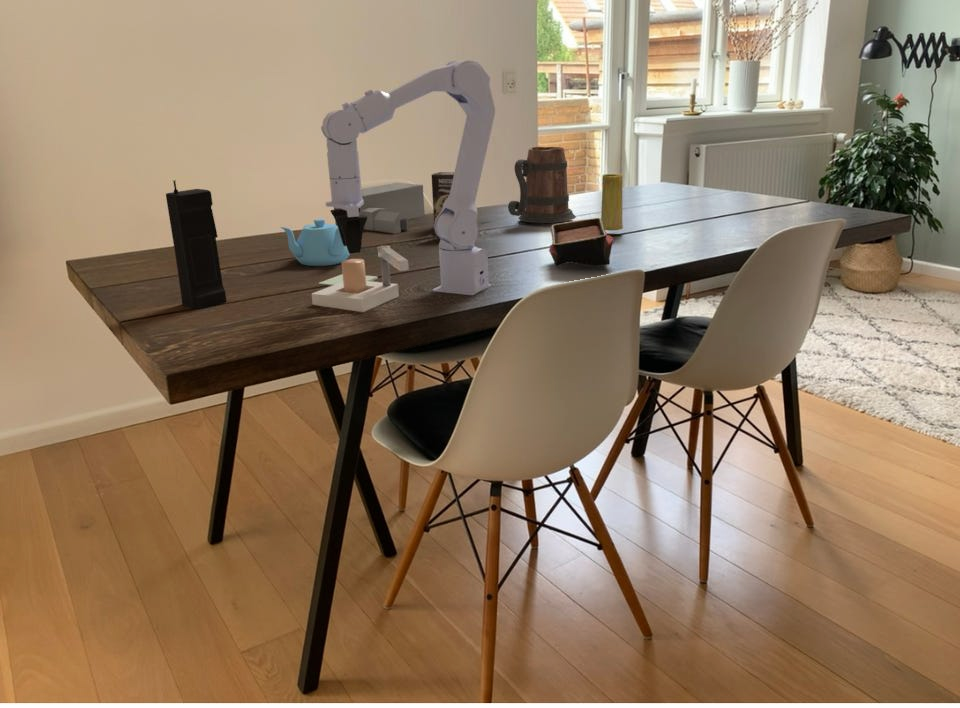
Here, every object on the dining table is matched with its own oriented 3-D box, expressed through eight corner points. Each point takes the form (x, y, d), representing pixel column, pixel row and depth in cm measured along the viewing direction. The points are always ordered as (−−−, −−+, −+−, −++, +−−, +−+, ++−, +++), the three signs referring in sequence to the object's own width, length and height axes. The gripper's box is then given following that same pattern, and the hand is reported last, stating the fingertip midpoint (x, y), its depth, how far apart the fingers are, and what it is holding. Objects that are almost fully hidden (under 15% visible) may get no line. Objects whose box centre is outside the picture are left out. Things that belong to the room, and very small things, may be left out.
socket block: (398, 296, 162) (396, 256, 160) (363, 312, 152) (359, 270, 150) (350, 290, 168) (346, 252, 165) (312, 306, 158) (308, 265, 155)
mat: (377, 278, 177) (377, 276, 176) (352, 289, 169) (352, 286, 169) (344, 275, 181) (344, 273, 181) (318, 285, 173) (318, 282, 173)
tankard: (545, 210, 251) (544, 144, 245) (587, 216, 240) (588, 146, 233) (490, 222, 236) (487, 151, 230) (532, 228, 225) (531, 154, 218)
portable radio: (215, 300, 165) (196, 174, 157) (233, 304, 162) (214, 176, 153) (180, 309, 160) (159, 180, 151) (198, 314, 156) (176, 181, 148)
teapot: (304, 256, 203) (299, 214, 199) (363, 254, 201) (359, 213, 198) (285, 270, 189) (279, 226, 186) (348, 268, 187) (343, 224, 184)
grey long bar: (376, 255, 160) (376, 246, 159) (388, 254, 160) (388, 245, 160) (398, 271, 146) (397, 261, 145) (410, 269, 147) (410, 260, 146)
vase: (599, 230, 218) (599, 176, 213) (601, 226, 223) (601, 173, 219) (622, 230, 216) (623, 176, 212) (623, 226, 222) (624, 173, 217)
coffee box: (433, 234, 222) (430, 174, 216) (441, 230, 227) (438, 171, 222) (465, 235, 219) (462, 174, 214) (472, 230, 225) (470, 171, 219)
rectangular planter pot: (547, 281, 181) (546, 239, 175) (551, 246, 196) (550, 207, 190) (613, 280, 179) (614, 238, 173) (612, 246, 194) (613, 206, 188)
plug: (372, 299, 161) (368, 259, 158) (358, 305, 157) (355, 264, 155) (354, 297, 163) (350, 258, 160) (340, 303, 159) (336, 263, 157)
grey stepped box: (394, 240, 217) (391, 199, 213) (336, 233, 231) (332, 194, 227) (456, 225, 235) (454, 187, 231) (398, 218, 249) (396, 182, 245)
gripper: (319, 174, 158) (326, 243, 162) (327, 183, 144) (335, 258, 149) (355, 171, 159) (361, 240, 164) (367, 180, 146) (373, 254, 151)
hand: (351, 249), depth 157 cm, fingers open, 7 cm apart
